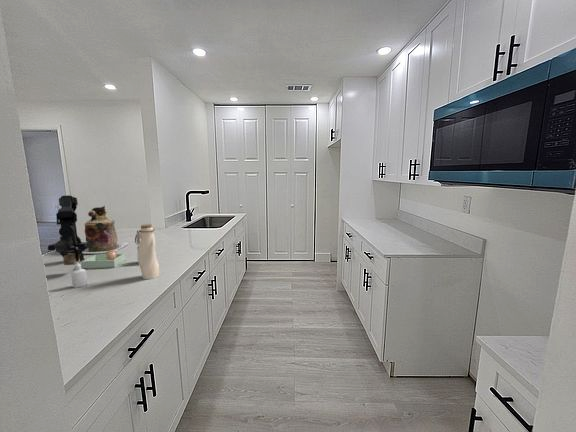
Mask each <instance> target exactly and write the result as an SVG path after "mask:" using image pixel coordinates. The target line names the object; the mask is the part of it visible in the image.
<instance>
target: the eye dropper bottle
mask: <svg viewBox="0 0 576 432" xmlns="http://www.w3.org/2000/svg"><path fill="white" fill-rule="evenodd" d="M86 270H87V269H82V264H81V263H80V262H79V263H78V262H77V263H76V264H75V265H74V270H72V271H71V272H70V274H71V283H72V288H74V289H77V288H78V289H79V288H81V287H84V286H87V285H88V277H87V271H86Z"/></svg>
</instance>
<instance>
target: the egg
mask: <svg viewBox="0 0 576 432" xmlns="http://www.w3.org/2000/svg"><path fill="white" fill-rule="evenodd" d="M116 254H117V251H108V252H106V258H107V260H114V259H116Z"/></svg>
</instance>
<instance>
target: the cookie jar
mask: <svg viewBox="0 0 576 432" xmlns="http://www.w3.org/2000/svg"><path fill="white" fill-rule="evenodd" d="M106 215H107V211H106V205H103V206H99V207H93V208H92V209H91V210H90V211H88V217H91V218H90V219H89V220H87V221H86V222H85V223H84V234H85V242H90V243H91V244H92V247H90V248H88V249H85V251H83V252H82V253H83V255H84V254H85V255H97V254H106V252H108V251H116V252H118V251H119V250H121V249H123V248H124V247H125V246H128V243H129V242H128V241H127V242H121V243H119V242H118V233H117V231H116V228H115V222H116V221H115V219H110V218H108V217H106Z"/></svg>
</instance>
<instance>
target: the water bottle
mask: <svg viewBox="0 0 576 432" xmlns="http://www.w3.org/2000/svg"><path fill="white" fill-rule="evenodd" d="M154 231H156V230H155V228H153V226H152V224H151V223H148V224H147V223H146V224H145V223H144V224H141V225H140V230H136V234H135V237H134V243H135V244H136V246H139V248H138V249H137V263H138V265H139V268H140V272H141V276H142V279H144V280H151V279H156V278H157V277H159V275H160V265H159V261H158V258H157V254H156V253H157V252H156V237H155V234H154Z"/></svg>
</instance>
